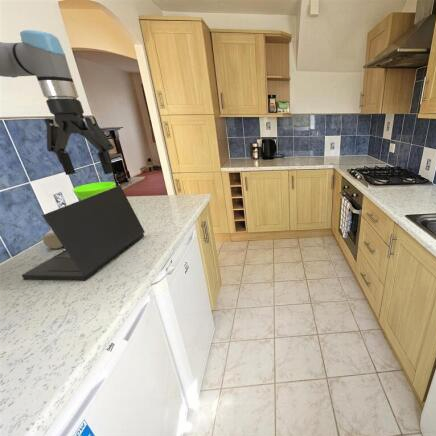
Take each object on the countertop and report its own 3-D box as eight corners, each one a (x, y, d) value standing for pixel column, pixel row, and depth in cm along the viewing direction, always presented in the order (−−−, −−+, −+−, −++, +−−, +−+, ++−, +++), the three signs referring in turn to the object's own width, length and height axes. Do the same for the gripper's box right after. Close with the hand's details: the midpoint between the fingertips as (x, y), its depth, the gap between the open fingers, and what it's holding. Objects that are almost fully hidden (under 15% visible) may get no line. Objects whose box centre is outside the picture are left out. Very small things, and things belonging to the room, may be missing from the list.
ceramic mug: (45, 251, 94) (37, 233, 90) (56, 242, 101) (48, 225, 98) (79, 246, 97) (71, 229, 94) (86, 237, 104) (80, 221, 101)
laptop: (23, 279, 77) (20, 274, 77) (97, 236, 105) (96, 232, 104) (85, 280, 76) (83, 275, 75) (144, 236, 103) (143, 232, 103)
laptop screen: (41, 215, 67) (44, 214, 67) (118, 185, 95) (120, 185, 95) (83, 276, 75) (85, 275, 75) (143, 232, 103) (145, 232, 103)
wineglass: (128, 213, 129) (118, 180, 122) (124, 224, 115) (112, 188, 108) (92, 219, 123) (78, 184, 115) (82, 231, 109) (67, 193, 102)
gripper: (113, 98, 72) (134, 170, 80) (36, 101, 73) (65, 171, 82) (92, 96, 65) (117, 175, 73) (8, 99, 66) (42, 176, 75)
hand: (89, 173), depth 78 cm, fingers open, 12 cm apart
